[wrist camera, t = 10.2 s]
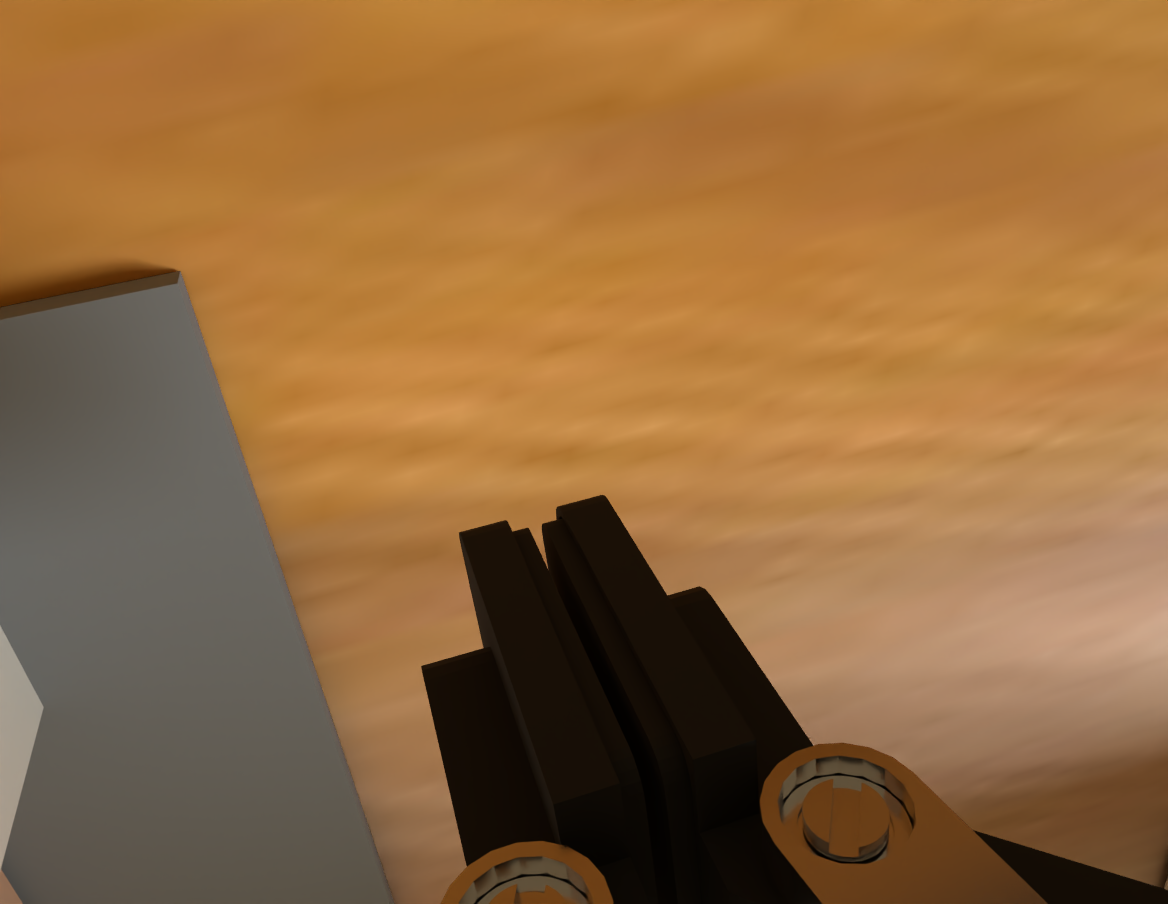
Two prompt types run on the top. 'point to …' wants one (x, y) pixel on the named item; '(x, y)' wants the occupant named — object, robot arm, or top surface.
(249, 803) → the mat
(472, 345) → the top surface
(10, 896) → the tile terracotta
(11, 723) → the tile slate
